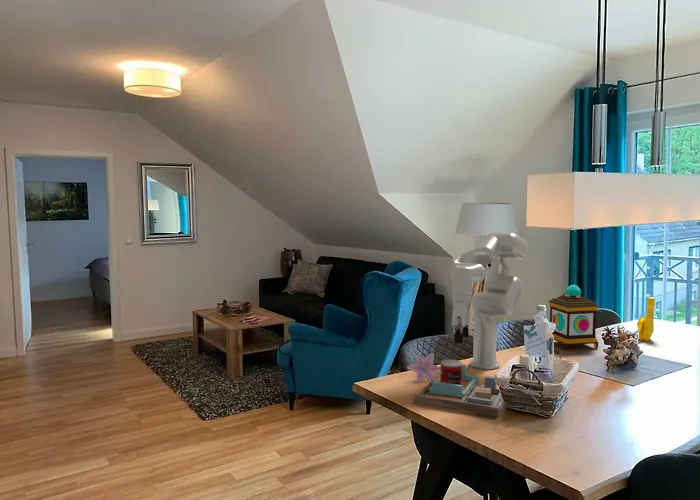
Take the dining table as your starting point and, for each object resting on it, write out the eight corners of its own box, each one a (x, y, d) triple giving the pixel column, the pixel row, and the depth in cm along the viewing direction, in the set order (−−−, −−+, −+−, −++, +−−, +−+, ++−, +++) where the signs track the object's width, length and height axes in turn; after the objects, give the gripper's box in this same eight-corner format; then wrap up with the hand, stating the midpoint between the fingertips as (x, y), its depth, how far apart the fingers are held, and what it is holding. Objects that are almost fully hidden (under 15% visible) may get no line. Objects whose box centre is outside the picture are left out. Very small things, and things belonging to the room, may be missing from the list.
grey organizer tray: (476, 388, 212) (477, 374, 211) (505, 392, 207) (505, 377, 207) (463, 408, 191) (463, 392, 191) (494, 413, 187) (494, 397, 187)
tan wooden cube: (476, 400, 200) (476, 387, 199) (490, 402, 198) (491, 388, 198) (475, 405, 195) (475, 391, 194) (490, 407, 194) (490, 393, 193)
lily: (403, 380, 225) (405, 363, 219) (417, 363, 233) (420, 346, 227) (429, 394, 219) (432, 377, 214) (443, 376, 227) (446, 359, 222)
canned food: (448, 386, 215) (448, 358, 214) (465, 391, 209) (466, 362, 208) (435, 391, 210) (436, 362, 209) (453, 396, 204) (453, 366, 203)
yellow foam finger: (639, 335, 295) (641, 293, 293) (656, 337, 290) (658, 295, 288) (632, 342, 281) (634, 298, 279) (649, 344, 276) (651, 300, 274)
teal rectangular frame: (444, 375, 227) (444, 362, 227) (478, 379, 222) (478, 366, 221) (428, 392, 207) (429, 378, 207) (465, 397, 202) (465, 382, 201)
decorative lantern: (602, 349, 267) (605, 287, 264) (565, 352, 263) (567, 288, 260) (577, 339, 287) (579, 281, 284) (541, 341, 282) (543, 282, 280)
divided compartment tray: (431, 384, 217) (432, 377, 216) (508, 395, 205) (509, 387, 204) (413, 403, 197) (414, 395, 196) (497, 416, 185) (498, 408, 184)
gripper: (457, 293, 230) (457, 334, 232) (446, 300, 214) (446, 344, 216) (476, 294, 227) (475, 335, 229) (466, 302, 211) (465, 346, 213)
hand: (461, 340), depth 222 cm, fingers open, 9 cm apart
